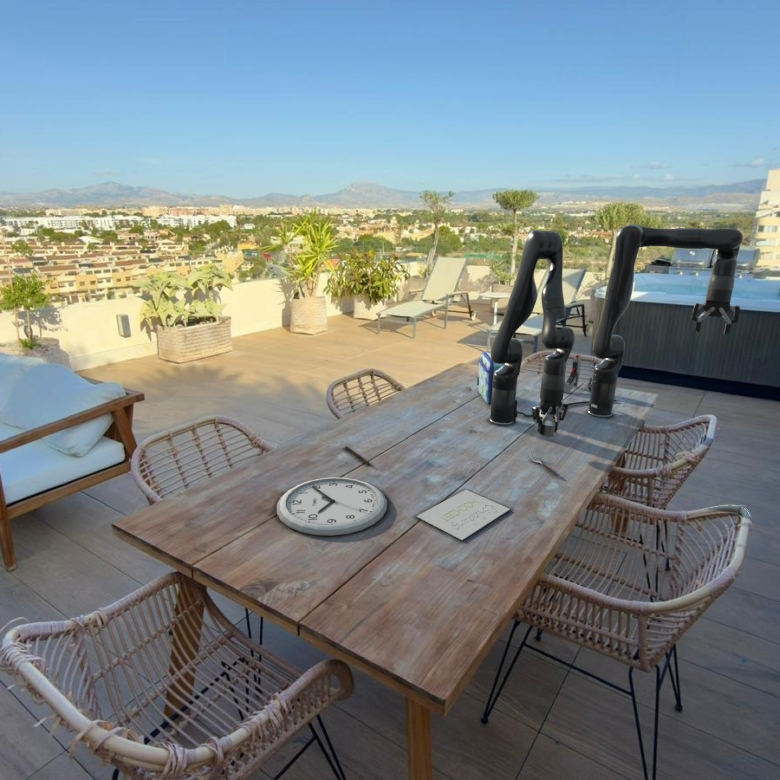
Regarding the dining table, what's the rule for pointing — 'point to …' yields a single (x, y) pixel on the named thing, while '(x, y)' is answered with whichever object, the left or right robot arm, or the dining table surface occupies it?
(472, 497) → the invitation card
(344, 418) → the dining table surface
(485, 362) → the lunch box
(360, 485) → the wall clock
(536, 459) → the fork
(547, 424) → the tin
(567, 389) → the toy gun
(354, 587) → the dining table surface
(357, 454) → the dark brown stick
